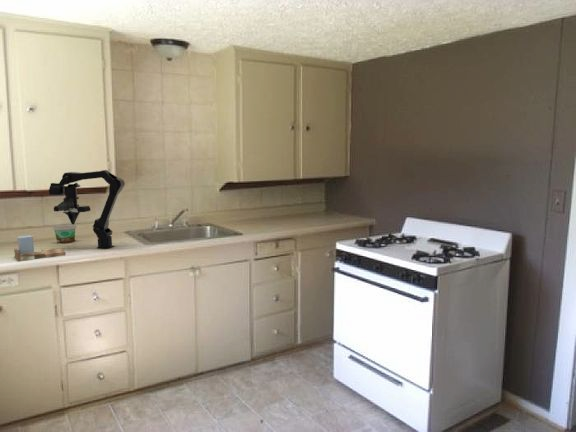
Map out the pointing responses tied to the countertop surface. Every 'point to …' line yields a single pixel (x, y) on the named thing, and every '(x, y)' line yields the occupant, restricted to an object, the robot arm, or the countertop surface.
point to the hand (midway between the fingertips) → (73, 224)
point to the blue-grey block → (25, 244)
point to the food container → (65, 233)
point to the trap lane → (39, 254)
